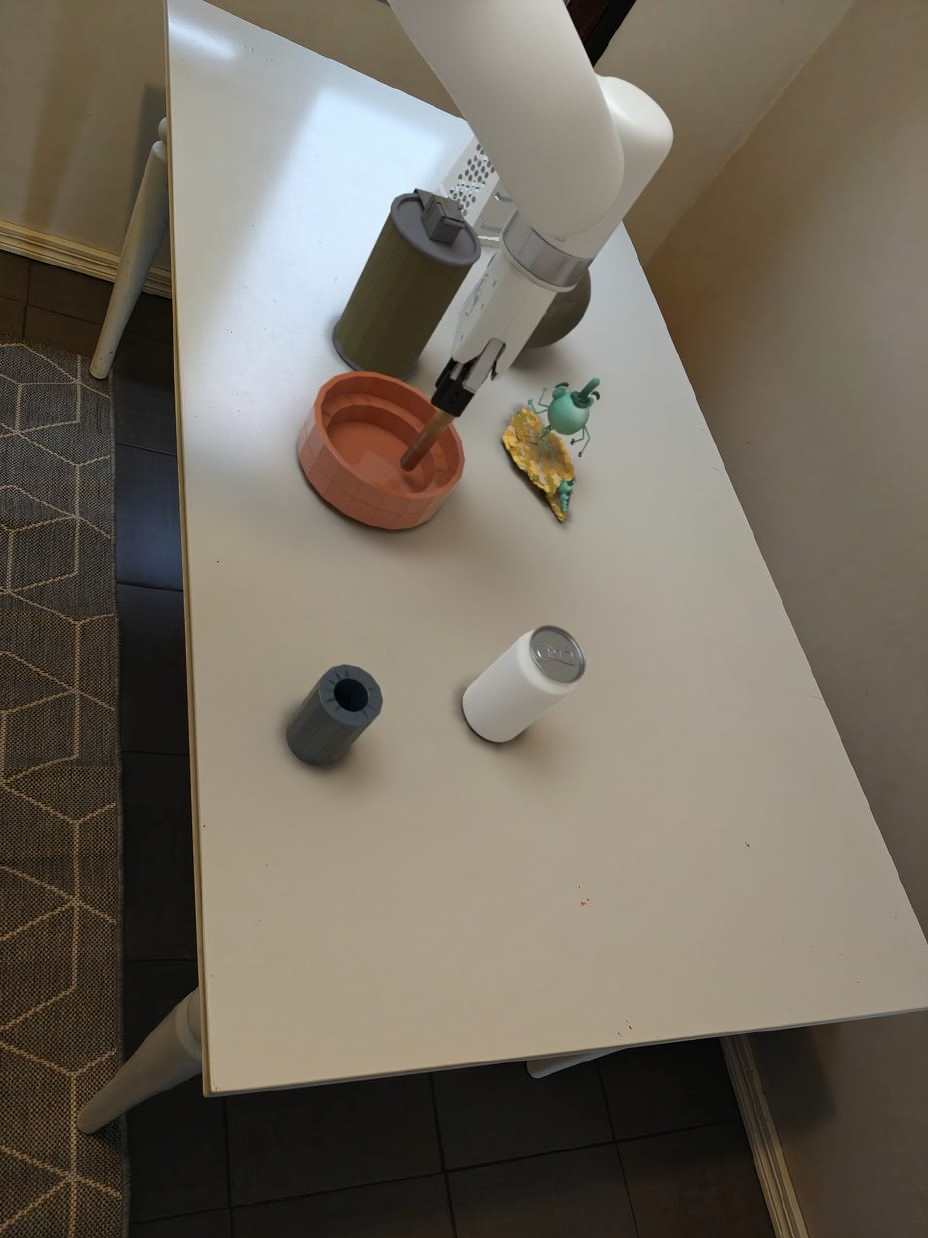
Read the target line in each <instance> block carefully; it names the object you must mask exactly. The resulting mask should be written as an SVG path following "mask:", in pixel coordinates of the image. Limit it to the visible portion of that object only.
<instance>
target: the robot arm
mask: <svg viewBox="0 0 928 1238" xmlns="http://www.w3.org/2000/svg"><path fill="white" fill-rule="evenodd" d="M386 1H387V2H388V4H389V7H390V8H391V10H392V11H393V13H394V15H395V17H396V19H397V20H398V22H399V23H400V25H401V26H402V28H403V31H404V32H405V33H406V35H407V36H408V38H409V39H410V41H411V43H412V44H413V46H414V47H415V48H416V49H417V51H418V52H419V54H420V55H421V56H422V58H423V59H424V61H425V62H426V63H427V65H428V66H429V67H430V69H431V70H432V72H433V73H434V74H435V76H436V77H437V79H438V80H439V82H440V83H441V85H442V86H443V87H444V88H445V90H446V92H447V93H448V94H449V96H450V98H451V99H452V101H453V102H454V105H456V108H457V109H458V110H459V111H460V113H461V115H462V117H463V118H464V120H465V121H466V123H467V125H468V126H469V128H470V130H471V132H472V133H473V134H474V136H475V137H476V139H477V140H478V142H479V144H480V146H481V147H482V149H483V151H484V153H485V154H486V156H485V157H486V158H487V160H488V159H489V161H490V163H491V164H492V166H493V167H494V169H495V171H496V173H497V174H498V176H499V178H500V180H501V181H502V183H503V185H504V187H505V188H506V190H507V192H508V194H509V196H510V197H511V199H512V201H513V203H514V205H515V209H514V211H513V212H512V214H511V216H510V218H509V219H508V221H507V223H506V224H505V226H504V227H503V228H501V231H500V232H499V233H500V235H499V243H500V246H501V248H499V249H498V250H499V251H498V250H497V251H498V252H497V251H496V252H497V254H496V255H495V254H494V255H495V257H494V258H493V260H492V261H491V263H490V264H489V263H488V264H489V266H488V265H487V266H488V267H487V266H486V268H487V269H486V268H485V270H484V272H483V273H482V275H480V278H479V280H478V281H477V283H476V284H475V285H474V287H473V289H472V290H471V292H470V293H469V295H468V296H467V298H466V300H465V301H464V304H463V306H462V308H461V311H460V314H459V318H458V322H457V325H456V328H455V333H454V336H453V340H452V345H451V348H450V355H451V356H450V358H449V359H448V361H447V362H446V365H445V366H444V367H443V369H442V371H441V373H440V374H439V376H438V378H437V379H436V381H435V384H434V388H435V389H436V390H435V392H433V394H432V396H431V398H430V400H431V404H432V405H433V406H435V407H437V408H439V409H441V410H443V411H445V412H447V413H449V414H450V415H452V416H454V417H456V418H460V417H461V416H462V414H463V413H464V411H465V410H466V408H467V407H468V405H469V404H470V402H471V401H472V399H473V398H474V397H475V395H476V394H477V392H478V391H479V390H480V388H481V387H482V385H483V384H484V383H483V381H484V380H485V378H486V377H487V376H488V377H490V381H491V382H496V381H498V380H500V379H501V378H502V377H503V376H504V374H506V372H507V371H508V369H509V368H510V367H511V366H512V364H513V363H514V361H515V360H516V358H517V357H518V355H519V354H520V353H521V351H522V350H523V349H524V348H523V346H524V345H525V343H526V342H527V340H528V339H529V337H530V336H531V334H532V333H533V331H534V329H535V328H536V326H537V325H538V323H539V322H540V320H541V318H542V317H543V315H545V313H546V310H547V309H548V307H549V306H550V304H551V302H552V301H553V299H554V297H555V296H556V294H557V292H568V291H571V290H572V289H574V287H575V286H576V285H577V283H578V282H579V280H580V279H581V278H582V276H583V275H584V273H585V272H586V270H587V269H589V268H590V266H591V265H592V264H593V262H594V261H595V259H596V258H597V256H598V255H599V253H600V252H601V250H603V248H604V246H605V245H606V244H607V242H608V241H609V239H610V238H611V236H612V235H613V234H614V232H615V231H616V229H617V228H618V227H619V225H620V224H621V222H622V221H623V219H624V218H625V217H626V215H627V214H628V212H629V211H630V210H631V209H632V207H633V205H634V204H635V203H636V201H637V200H638V198H639V197H640V195H641V194H642V192H643V191H644V190H645V188H646V187H647V185H648V184H649V183H650V181H651V180H652V178H653V177H654V176H655V174H656V173H657V171H658V170H659V169H660V167H661V166H662V164H663V163H664V162H665V160H666V158H667V156H668V155H669V153H670V151H671V149H672V146H673V143H674V142H673V141H674V130H673V126H672V123H671V121H670V119H669V118H668V116H667V114H666V113H665V112H664V110H663V109H662V108H661V106H660V105H659V104H658V103H657V102H656V101H655V100H654V99H653V98H652V97H651V96H649V95H648V94H647V93H646V92H645V91H643V90H641V89H640V88H639V87H637V86H636V85H634V84H633V83H630V82H628V81H627V80H624V79H621V78H619V77H615V76H602V75H599V74H598V73H596V72H595V70H594V68H593V66H592V63H591V60H590V58H589V57H588V54H587V52H586V49H585V47H584V45H583V42H582V40H581V38H580V35H579V34H578V31H577V29H576V27H575V25H574V23H573V20H572V18H571V16H570V13H569V11H568V9H567V6H566V4H565V2H564V0H386ZM471 366H473V367H472V369H471V370H470V368H471ZM488 374H489V375H490V376H489V375H488ZM488 377H487V378H488ZM485 381H486V380H485ZM485 381H484V382H485ZM482 383H483V384H482ZM481 384H482V385H481ZM479 387H480V388H479Z"/></svg>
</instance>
